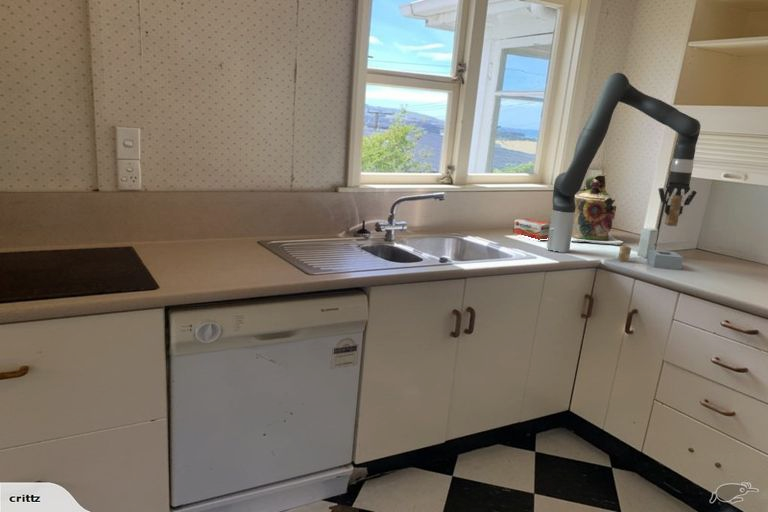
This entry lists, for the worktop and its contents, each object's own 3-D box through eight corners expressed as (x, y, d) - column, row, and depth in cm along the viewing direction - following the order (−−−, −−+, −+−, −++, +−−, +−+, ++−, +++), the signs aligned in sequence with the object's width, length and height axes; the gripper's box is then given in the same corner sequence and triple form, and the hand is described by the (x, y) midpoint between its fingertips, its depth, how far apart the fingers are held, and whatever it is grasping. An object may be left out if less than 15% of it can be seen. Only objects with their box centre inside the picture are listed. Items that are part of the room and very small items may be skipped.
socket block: (653, 267, 216) (655, 254, 215) (646, 261, 226) (648, 249, 225) (680, 269, 214) (682, 257, 213) (672, 263, 224) (674, 251, 223)
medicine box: (512, 235, 263) (514, 219, 261) (522, 234, 268) (524, 218, 266) (539, 242, 252) (541, 225, 250) (548, 240, 257) (551, 223, 255)
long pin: (667, 225, 215) (673, 195, 212) (664, 223, 218) (670, 194, 215) (676, 226, 214) (682, 195, 211) (673, 224, 217) (679, 194, 215)
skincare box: (646, 258, 231) (651, 230, 229) (636, 255, 235) (641, 228, 232) (654, 256, 235) (659, 229, 232) (644, 254, 238) (649, 227, 236)
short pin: (619, 261, 222) (622, 247, 221) (618, 259, 226) (620, 245, 224) (628, 262, 222) (631, 248, 220) (626, 260, 225) (629, 246, 224)
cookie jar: (556, 232, 278) (565, 169, 270) (605, 235, 277) (615, 172, 269) (571, 243, 254) (581, 173, 246) (624, 246, 253) (636, 177, 245)
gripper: (664, 170, 209) (656, 214, 213) (704, 173, 206) (695, 218, 210) (658, 168, 216) (651, 211, 220) (697, 171, 213) (688, 215, 218)
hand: (672, 214), depth 215 cm, fingers closed on long pin, 3 cm apart
